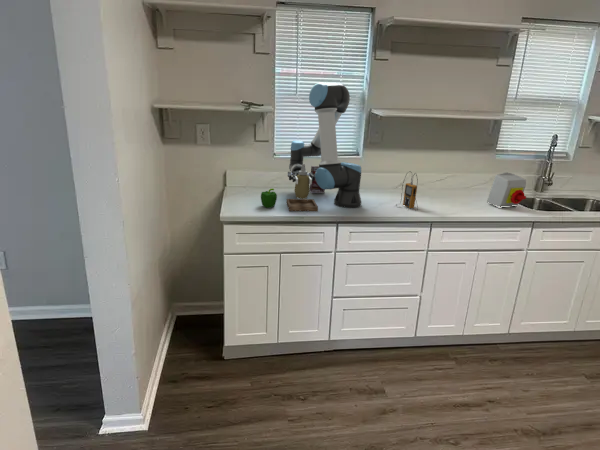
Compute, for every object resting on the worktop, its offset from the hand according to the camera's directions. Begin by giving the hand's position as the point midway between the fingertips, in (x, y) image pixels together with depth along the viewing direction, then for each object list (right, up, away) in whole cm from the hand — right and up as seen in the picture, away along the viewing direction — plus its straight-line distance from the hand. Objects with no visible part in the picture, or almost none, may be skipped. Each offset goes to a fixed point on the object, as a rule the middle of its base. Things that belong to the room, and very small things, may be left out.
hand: (304, 181), depth 216 cm
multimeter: (+55, -13, +19) cm, 60 cm away
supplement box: (+8, -2, +42) cm, 42 cm away
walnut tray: (-1, -13, +9) cm, 16 cm away
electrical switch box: (+119, -12, +31) cm, 123 cm away
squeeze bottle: (-1, -8, +8) cm, 11 cm away
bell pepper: (-19, -13, +7) cm, 24 cm away
